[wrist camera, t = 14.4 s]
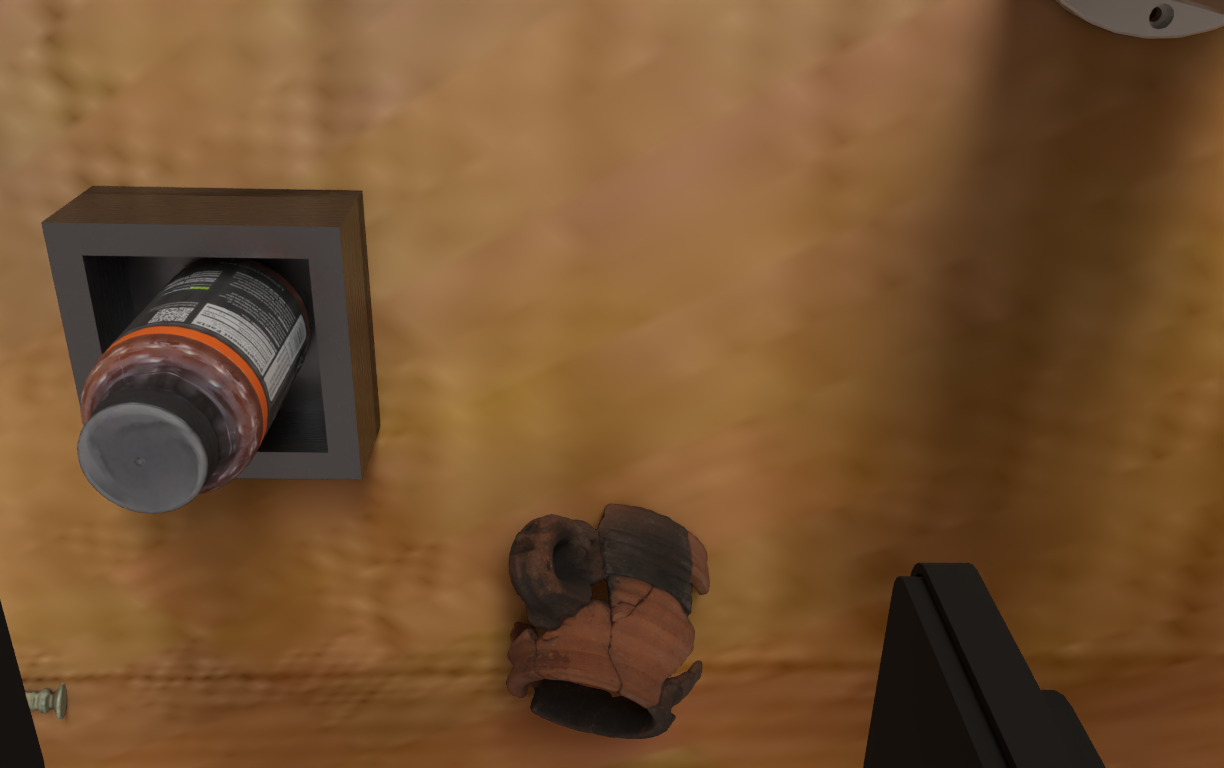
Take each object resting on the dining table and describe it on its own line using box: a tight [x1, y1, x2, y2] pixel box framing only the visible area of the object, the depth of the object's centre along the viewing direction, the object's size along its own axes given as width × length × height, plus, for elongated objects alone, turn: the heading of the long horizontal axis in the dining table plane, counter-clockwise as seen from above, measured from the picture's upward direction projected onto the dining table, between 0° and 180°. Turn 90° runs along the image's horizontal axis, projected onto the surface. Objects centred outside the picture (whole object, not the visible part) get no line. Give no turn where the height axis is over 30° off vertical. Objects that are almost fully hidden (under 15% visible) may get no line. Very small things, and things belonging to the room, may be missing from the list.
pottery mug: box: [506, 504, 710, 739], centre depth 50 cm, size 12×10×8 cm
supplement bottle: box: [77, 257, 311, 514], centre depth 40 cm, size 6×6×11 cm
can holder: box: [41, 186, 380, 479], centre depth 44 cm, size 10×10×4 cm
